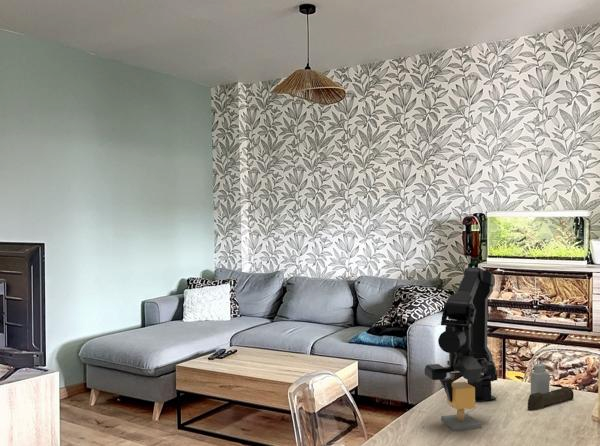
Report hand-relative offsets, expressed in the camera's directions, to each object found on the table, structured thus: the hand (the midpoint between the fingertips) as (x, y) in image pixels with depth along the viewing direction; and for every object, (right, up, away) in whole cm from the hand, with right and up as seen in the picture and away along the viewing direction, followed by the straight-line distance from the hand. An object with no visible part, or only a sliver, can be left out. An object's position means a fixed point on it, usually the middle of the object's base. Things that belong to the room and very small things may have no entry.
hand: (460, 400), depth 154 cm
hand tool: (+31, -6, +13) cm, 34 cm away
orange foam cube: (0, -1, 0) cm, 1 cm away
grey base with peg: (0, -6, 0) cm, 6 cm away
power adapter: (+32, -5, +22) cm, 39 cm away
